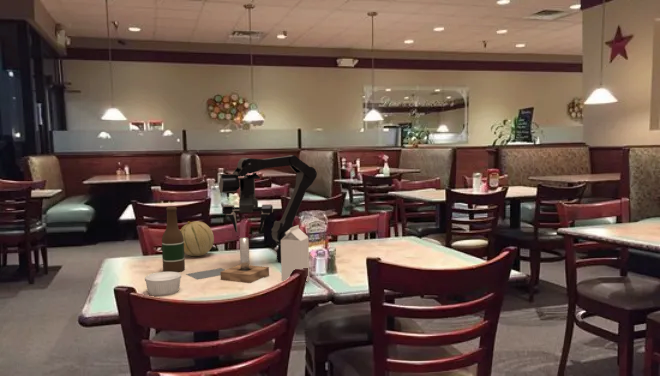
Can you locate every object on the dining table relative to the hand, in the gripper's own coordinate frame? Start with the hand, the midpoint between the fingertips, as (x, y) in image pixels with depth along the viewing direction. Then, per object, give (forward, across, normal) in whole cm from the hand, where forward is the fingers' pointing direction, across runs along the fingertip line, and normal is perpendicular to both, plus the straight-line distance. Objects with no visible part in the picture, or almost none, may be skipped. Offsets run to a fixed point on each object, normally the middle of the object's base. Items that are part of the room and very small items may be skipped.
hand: (248, 231), depth 206 cm
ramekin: (+13, -24, -34) cm, 44 cm away
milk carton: (+13, +18, -28) cm, 36 cm away
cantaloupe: (+13, -24, +20) cm, 34 cm away
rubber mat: (+13, -13, -13) cm, 22 cm away
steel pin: (+13, 0, -20) cm, 24 cm away
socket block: (+13, 0, -20) cm, 24 cm away
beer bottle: (+13, -27, -7) cm, 31 cm away
